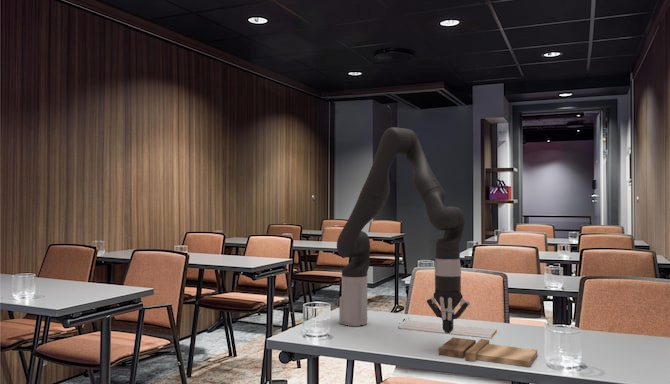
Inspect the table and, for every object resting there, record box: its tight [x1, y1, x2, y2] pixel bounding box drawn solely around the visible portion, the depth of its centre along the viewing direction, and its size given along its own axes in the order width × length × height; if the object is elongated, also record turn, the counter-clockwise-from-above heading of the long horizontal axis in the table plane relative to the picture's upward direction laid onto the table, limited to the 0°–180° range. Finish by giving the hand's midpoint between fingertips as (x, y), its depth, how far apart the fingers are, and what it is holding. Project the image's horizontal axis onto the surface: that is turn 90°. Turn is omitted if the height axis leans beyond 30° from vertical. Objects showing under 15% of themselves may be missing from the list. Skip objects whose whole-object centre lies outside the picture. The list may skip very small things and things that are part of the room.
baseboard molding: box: [398, 317, 498, 340], centre depth 183 cm, size 31×3×12 cm
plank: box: [438, 337, 477, 359], centre depth 158 cm, size 2×14×7 cm
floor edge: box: [464, 338, 538, 368], centre depth 152 cm, size 16×17×2 cm
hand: (448, 332), depth 159 cm, fingers closed
